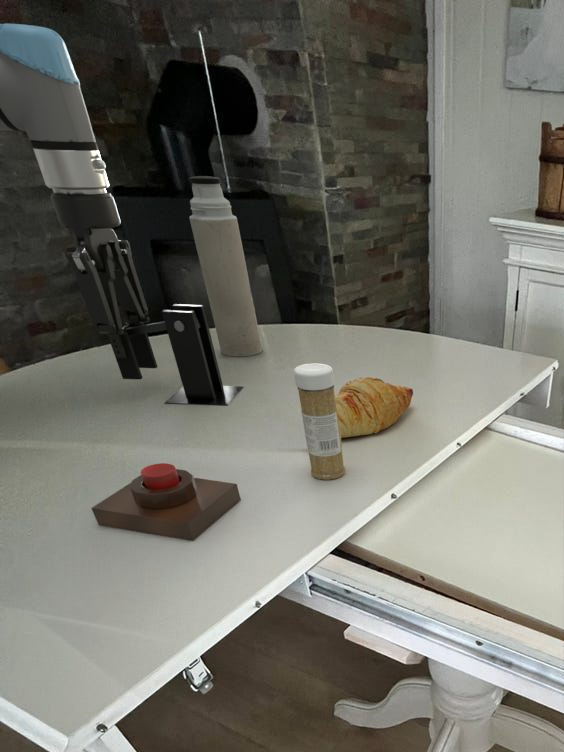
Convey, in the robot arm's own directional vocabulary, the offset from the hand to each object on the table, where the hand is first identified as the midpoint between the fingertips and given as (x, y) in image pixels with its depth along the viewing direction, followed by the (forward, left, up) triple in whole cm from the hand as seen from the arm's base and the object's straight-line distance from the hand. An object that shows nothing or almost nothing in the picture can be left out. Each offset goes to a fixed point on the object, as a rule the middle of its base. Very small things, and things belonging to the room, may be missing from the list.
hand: (140, 372), depth 94 cm
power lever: (+5, +1, +6) cm, 8 cm away
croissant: (+37, +1, -5) cm, 38 cm away
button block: (+26, -32, -4) cm, 41 cm away
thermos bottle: (-1, +30, -4) cm, 31 cm away
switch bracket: (+9, +2, -4) cm, 10 cm away
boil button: (+26, -32, -1) cm, 41 cm away
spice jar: (+39, -17, -5) cm, 43 cm away
